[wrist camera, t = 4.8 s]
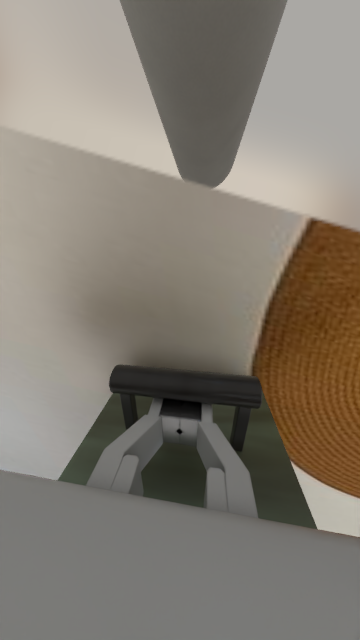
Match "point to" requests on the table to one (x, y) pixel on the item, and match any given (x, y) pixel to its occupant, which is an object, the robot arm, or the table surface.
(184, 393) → the drawer
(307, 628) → the robot arm
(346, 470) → the table surface
